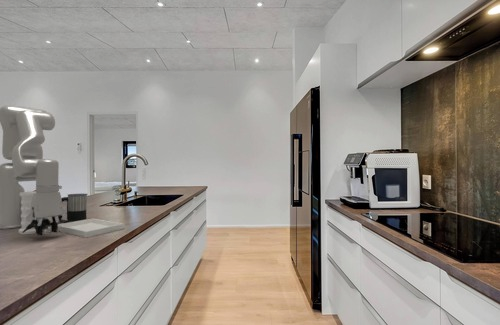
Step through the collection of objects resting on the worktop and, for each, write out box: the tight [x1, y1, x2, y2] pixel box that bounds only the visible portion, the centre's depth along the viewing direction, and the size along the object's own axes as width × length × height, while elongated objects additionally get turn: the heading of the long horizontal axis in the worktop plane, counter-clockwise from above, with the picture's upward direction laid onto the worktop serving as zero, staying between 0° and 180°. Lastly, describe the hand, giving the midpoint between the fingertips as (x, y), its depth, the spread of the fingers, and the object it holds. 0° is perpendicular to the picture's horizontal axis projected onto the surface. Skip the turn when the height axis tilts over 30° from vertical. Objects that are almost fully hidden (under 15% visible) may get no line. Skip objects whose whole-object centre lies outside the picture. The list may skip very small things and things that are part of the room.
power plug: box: [22, 218, 52, 236], centre depth 117 cm, size 6×8×12 cm
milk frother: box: [58, 193, 88, 224], centre depth 146 cm, size 14×16×15 cm
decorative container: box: [18, 190, 51, 235], centre depth 129 cm, size 12×12×18 cm
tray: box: [57, 218, 126, 239], centre depth 131 cm, size 26×18×2 cm
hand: (47, 233), depth 116 cm, fingers closed on power plug, 4 cm apart
